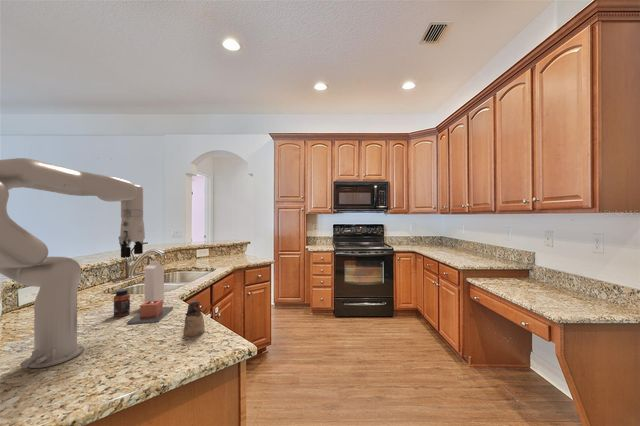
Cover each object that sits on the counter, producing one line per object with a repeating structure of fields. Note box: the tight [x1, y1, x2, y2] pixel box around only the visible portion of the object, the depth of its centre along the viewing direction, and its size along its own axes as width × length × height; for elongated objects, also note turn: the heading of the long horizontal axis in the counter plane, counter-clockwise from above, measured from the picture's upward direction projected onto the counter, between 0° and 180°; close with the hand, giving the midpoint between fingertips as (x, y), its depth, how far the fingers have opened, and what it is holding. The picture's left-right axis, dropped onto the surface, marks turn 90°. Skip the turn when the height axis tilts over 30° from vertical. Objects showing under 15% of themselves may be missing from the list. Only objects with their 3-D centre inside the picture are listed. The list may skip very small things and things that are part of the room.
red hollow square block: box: [139, 300, 164, 317], centre depth 116 cm, size 6×6×5 cm
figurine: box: [183, 300, 206, 338], centre depth 98 cm, size 7×7×12 cm
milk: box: [144, 260, 165, 304], centre depth 132 cm, size 6×6×22 cm
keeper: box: [126, 302, 174, 325], centre depth 116 cm, size 16×12×6 cm
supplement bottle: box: [113, 288, 131, 318], centre depth 117 cm, size 6×6×11 cm
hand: (132, 255), depth 108 cm, fingers open, 9 cm apart
